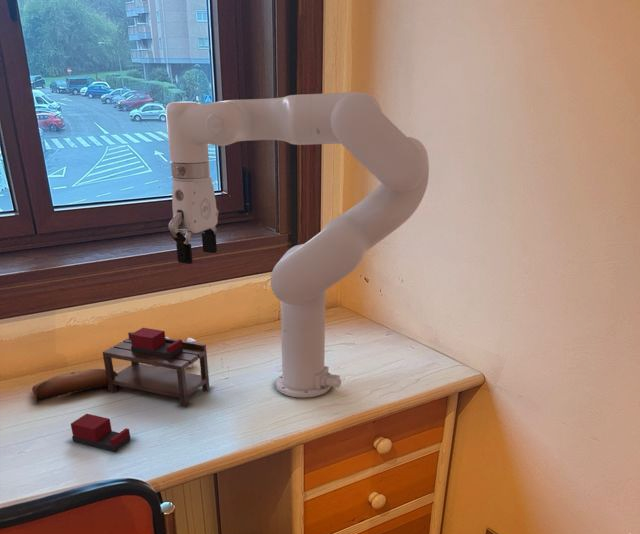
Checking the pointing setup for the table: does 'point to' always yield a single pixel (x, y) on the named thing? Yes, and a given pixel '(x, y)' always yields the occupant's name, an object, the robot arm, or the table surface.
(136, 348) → the right slipper
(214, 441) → the table surface
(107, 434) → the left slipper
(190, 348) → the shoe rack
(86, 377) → the sunglasses case
